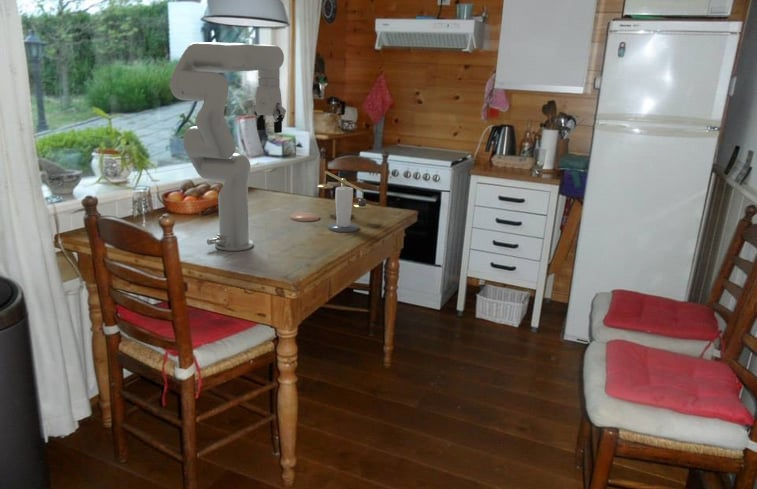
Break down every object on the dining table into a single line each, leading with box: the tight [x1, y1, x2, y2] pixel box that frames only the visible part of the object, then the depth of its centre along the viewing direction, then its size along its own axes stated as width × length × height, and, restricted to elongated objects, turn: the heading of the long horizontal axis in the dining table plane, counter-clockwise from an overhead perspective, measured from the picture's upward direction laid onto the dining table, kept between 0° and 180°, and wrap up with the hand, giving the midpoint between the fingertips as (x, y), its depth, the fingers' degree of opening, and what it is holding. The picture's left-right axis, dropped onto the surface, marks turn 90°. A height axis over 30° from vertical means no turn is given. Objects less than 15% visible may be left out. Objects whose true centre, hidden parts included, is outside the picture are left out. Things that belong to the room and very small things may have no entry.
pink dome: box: [289, 211, 320, 223], centre depth 229 cm, size 12×12×1 cm
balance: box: [316, 170, 371, 220], centre depth 231 cm, size 8×29×18 cm, turn 50°
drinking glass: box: [334, 186, 354, 227], centre depth 214 cm, size 7×7×15 cm
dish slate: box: [327, 221, 359, 233], centre depth 217 cm, size 12×12×1 cm
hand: (269, 131), depth 204 cm, fingers open, 9 cm apart
